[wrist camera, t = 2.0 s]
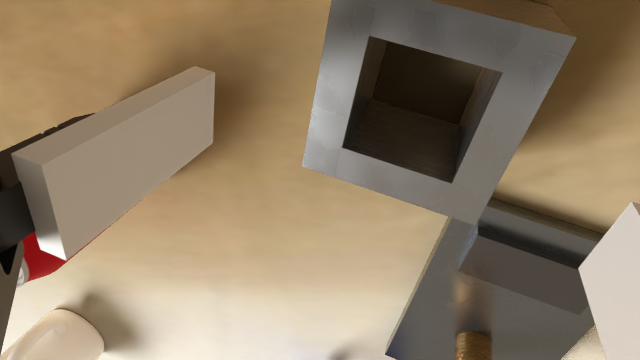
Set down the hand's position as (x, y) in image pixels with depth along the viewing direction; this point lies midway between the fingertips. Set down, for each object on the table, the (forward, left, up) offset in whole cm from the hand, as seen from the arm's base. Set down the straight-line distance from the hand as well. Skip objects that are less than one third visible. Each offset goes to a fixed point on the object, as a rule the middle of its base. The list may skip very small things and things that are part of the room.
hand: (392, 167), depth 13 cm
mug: (+41, -30, -10) cm, 51 cm away
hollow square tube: (0, 0, -10) cm, 10 cm away
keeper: (+14, +9, -10) cm, 19 cm away
